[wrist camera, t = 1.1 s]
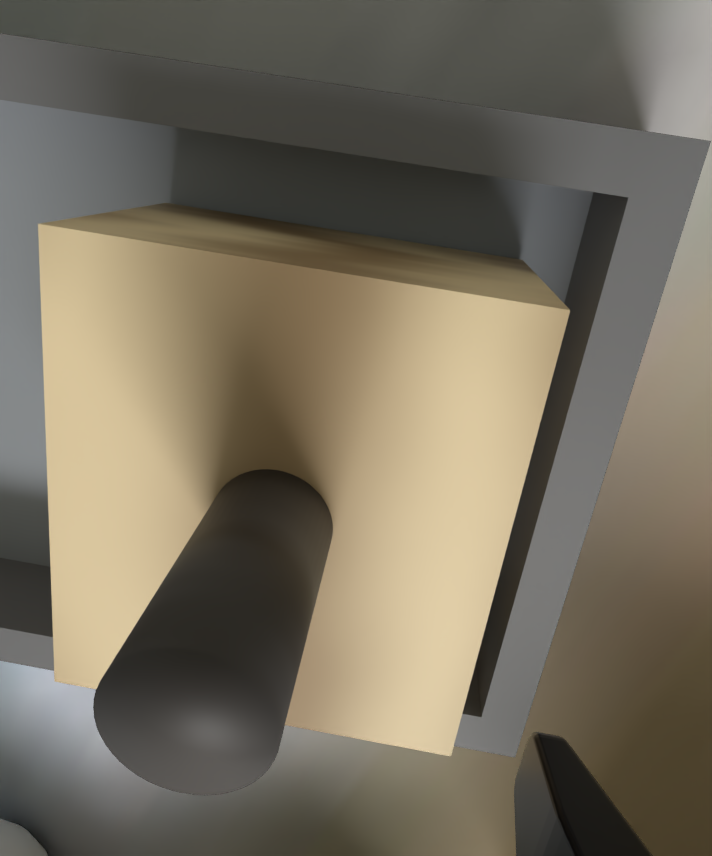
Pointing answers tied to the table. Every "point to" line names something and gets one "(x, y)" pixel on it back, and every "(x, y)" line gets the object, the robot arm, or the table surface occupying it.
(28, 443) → the tray
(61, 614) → the beige block with peg
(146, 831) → the table surface
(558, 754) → the robot arm
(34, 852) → the donut
